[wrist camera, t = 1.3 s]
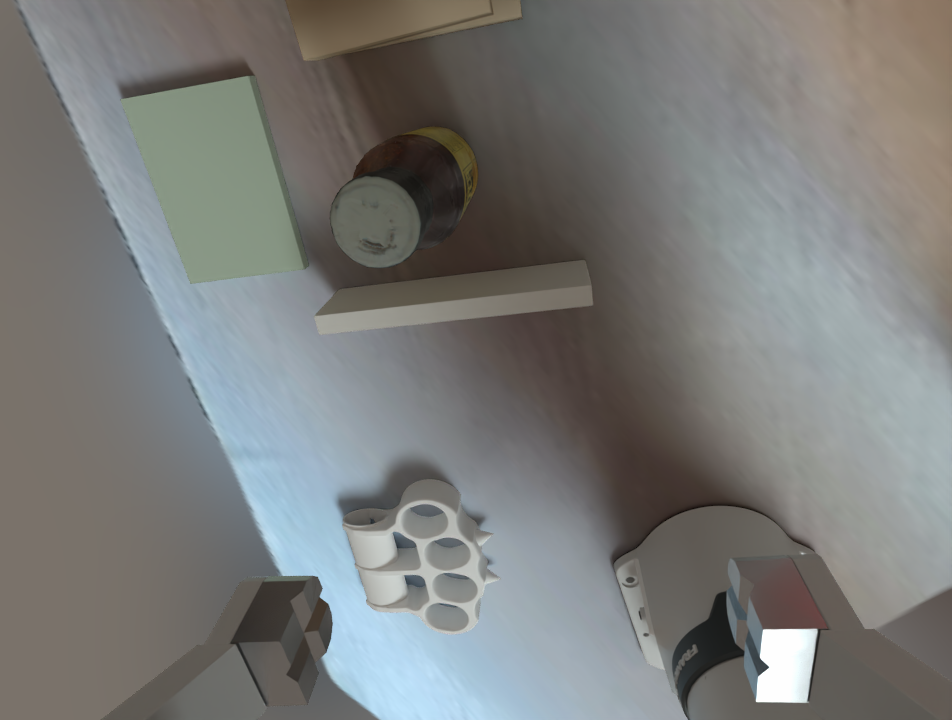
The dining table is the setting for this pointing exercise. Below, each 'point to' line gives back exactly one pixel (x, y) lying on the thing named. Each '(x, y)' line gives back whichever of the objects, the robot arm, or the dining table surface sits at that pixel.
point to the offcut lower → (471, 22)
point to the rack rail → (457, 297)
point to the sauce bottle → (404, 197)
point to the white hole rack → (422, 558)
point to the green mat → (218, 179)
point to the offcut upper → (373, 22)
